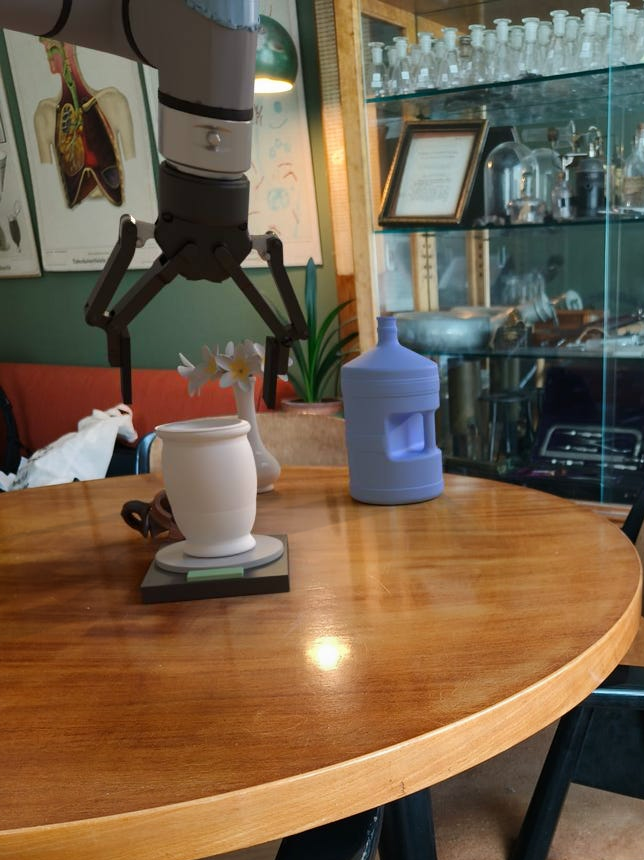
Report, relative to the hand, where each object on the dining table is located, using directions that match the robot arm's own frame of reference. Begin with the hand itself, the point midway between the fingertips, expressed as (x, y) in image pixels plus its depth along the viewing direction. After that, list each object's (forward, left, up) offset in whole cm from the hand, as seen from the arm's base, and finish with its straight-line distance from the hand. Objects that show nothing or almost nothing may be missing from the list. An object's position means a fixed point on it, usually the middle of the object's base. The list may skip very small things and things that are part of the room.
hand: (199, 401), depth 88 cm
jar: (-1, +14, -19) cm, 24 cm away
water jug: (+25, +51, -22) cm, 61 cm away
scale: (-1, +13, -22) cm, 25 cm away
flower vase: (+1, +63, -22) cm, 67 cm away
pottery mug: (-9, +31, -22) cm, 39 cm away
